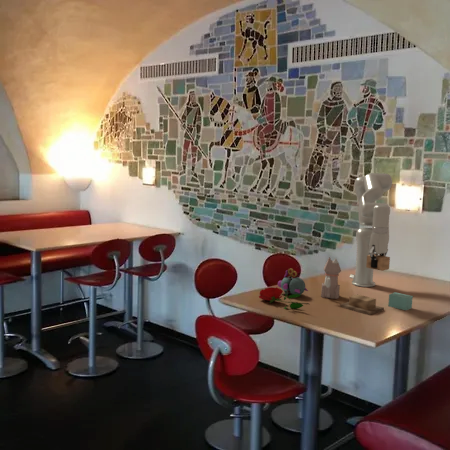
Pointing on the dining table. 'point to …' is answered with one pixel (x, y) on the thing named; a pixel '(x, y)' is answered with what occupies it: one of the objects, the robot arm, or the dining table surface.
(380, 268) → the tan block
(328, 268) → the toy
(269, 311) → the dining table surface
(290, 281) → the toy
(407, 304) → the teal brick
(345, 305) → the pedestal board
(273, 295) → the flower
